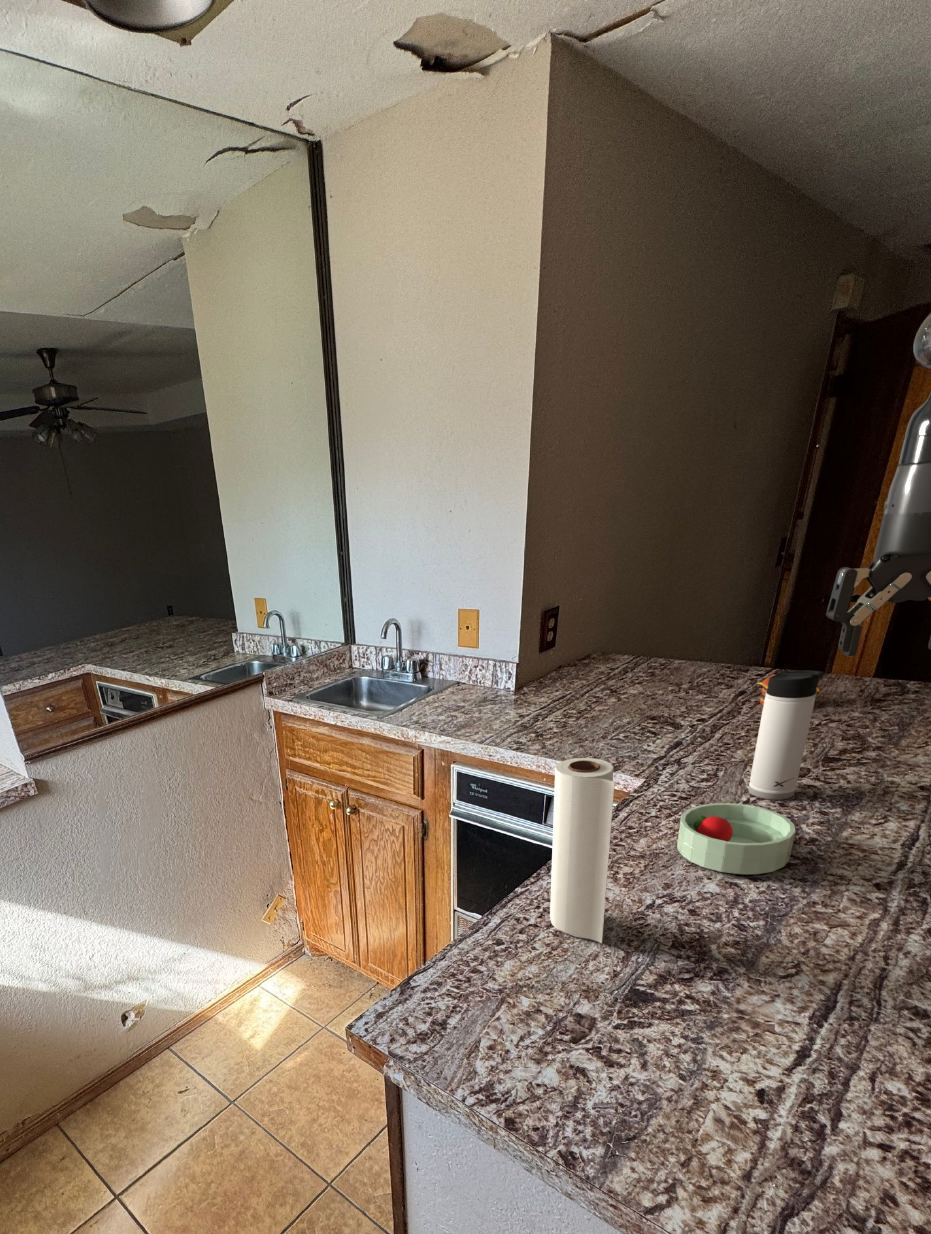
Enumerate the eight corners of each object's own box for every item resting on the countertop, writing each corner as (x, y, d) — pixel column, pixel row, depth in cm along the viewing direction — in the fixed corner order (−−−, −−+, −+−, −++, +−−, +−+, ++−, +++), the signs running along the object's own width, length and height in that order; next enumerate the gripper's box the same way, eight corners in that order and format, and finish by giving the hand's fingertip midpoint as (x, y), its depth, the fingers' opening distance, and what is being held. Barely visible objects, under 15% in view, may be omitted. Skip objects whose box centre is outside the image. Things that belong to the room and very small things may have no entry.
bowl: (801, 848, 90) (808, 816, 88) (768, 888, 83) (775, 854, 81) (698, 825, 100) (702, 796, 97) (660, 860, 92) (664, 829, 90)
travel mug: (786, 804, 102) (813, 678, 93) (740, 794, 107) (762, 673, 98) (803, 791, 105) (831, 668, 96) (758, 782, 110) (780, 664, 101)
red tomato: (744, 826, 91) (713, 805, 93) (733, 834, 88) (702, 812, 90) (723, 849, 93) (693, 828, 96) (712, 857, 91) (682, 835, 93)
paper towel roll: (551, 907, 86) (556, 755, 76) (601, 911, 83) (613, 755, 74) (548, 939, 80) (553, 779, 70) (601, 944, 77) (615, 779, 68)
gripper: (863, 517, 72) (831, 663, 79) (1033, 496, 67) (983, 655, 74) (838, 514, 78) (810, 650, 85) (992, 495, 73) (949, 641, 80)
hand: (891, 652), depth 79 cm, fingers open, 8 cm apart
